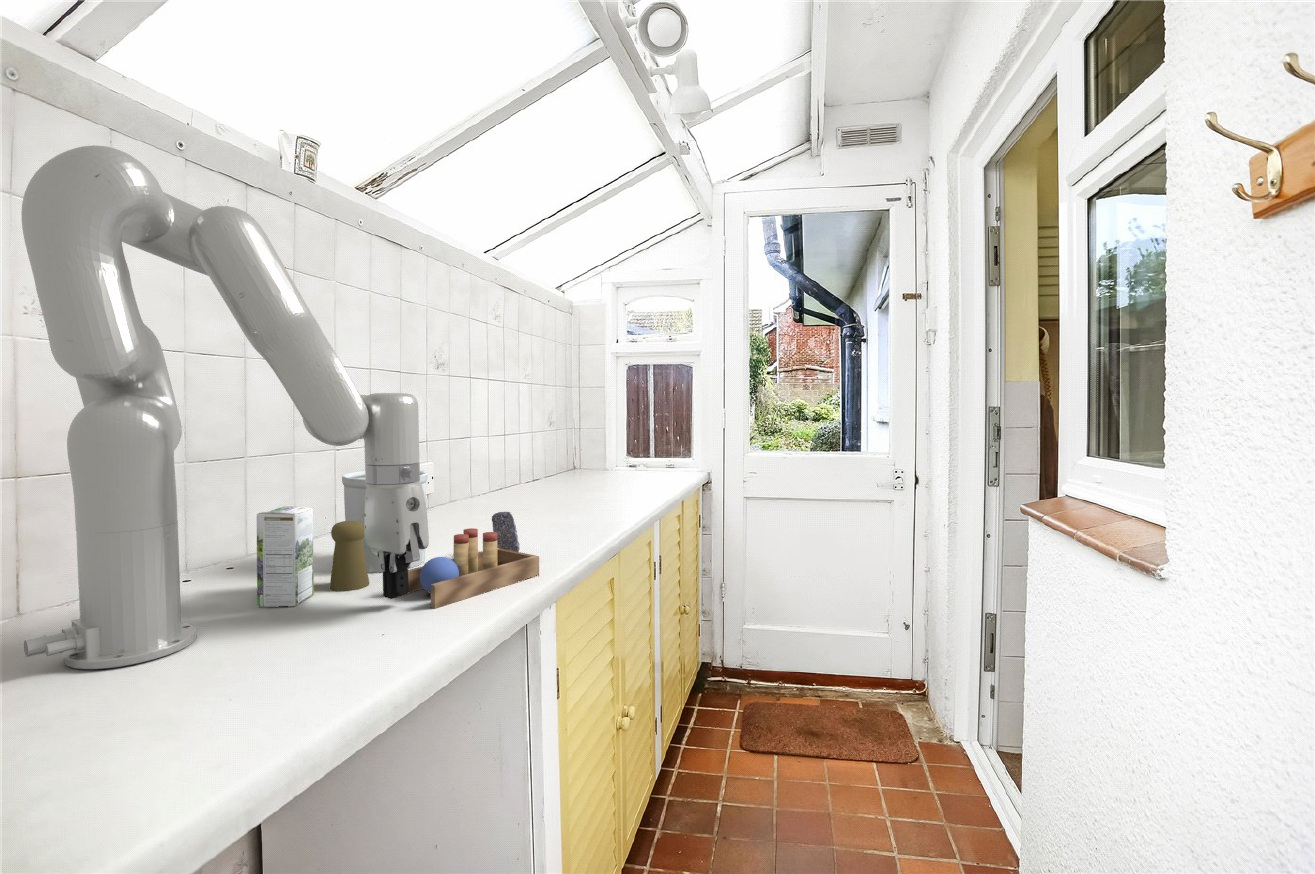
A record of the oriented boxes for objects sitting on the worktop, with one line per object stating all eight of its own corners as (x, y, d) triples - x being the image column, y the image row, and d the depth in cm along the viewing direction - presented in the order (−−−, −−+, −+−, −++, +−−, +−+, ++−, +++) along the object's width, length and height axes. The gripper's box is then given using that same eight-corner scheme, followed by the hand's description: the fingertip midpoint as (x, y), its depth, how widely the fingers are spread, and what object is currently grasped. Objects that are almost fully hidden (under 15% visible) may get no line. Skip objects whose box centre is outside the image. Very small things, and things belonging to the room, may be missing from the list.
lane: (435, 608, 93) (434, 585, 93) (391, 595, 99) (391, 574, 99) (539, 575, 111) (539, 556, 111) (497, 566, 117) (497, 547, 117)
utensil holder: (424, 571, 113) (423, 476, 112) (335, 577, 109) (333, 478, 108) (431, 552, 127) (430, 468, 126) (353, 556, 123) (351, 469, 122)
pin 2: (489, 587, 104) (489, 535, 103) (480, 584, 105) (479, 533, 105) (500, 583, 106) (500, 533, 105) (491, 581, 107) (490, 531, 107)
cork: (353, 592, 100) (351, 525, 100) (321, 590, 101) (319, 524, 101) (377, 582, 106) (376, 519, 106) (346, 579, 107) (345, 517, 107)
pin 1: (470, 582, 107) (469, 531, 106) (460, 579, 108) (460, 530, 107) (481, 578, 109) (480, 529, 108) (472, 576, 110) (471, 527, 109)
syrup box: (277, 596, 98) (274, 506, 97) (315, 595, 98) (313, 505, 98) (256, 608, 92) (253, 512, 92) (297, 607, 93) (295, 512, 92)
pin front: (459, 590, 102) (460, 537, 101) (449, 587, 103) (450, 535, 103) (471, 587, 104) (471, 535, 103) (461, 584, 105) (462, 533, 105)
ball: (469, 560, 101) (462, 597, 100) (446, 555, 104) (439, 591, 103) (439, 559, 96) (431, 598, 95) (416, 553, 99) (408, 591, 98)
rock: (522, 564, 119) (522, 513, 118) (493, 567, 117) (493, 514, 116) (514, 550, 130) (514, 503, 129) (488, 552, 128) (487, 504, 127)
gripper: (445, 476, 91) (448, 598, 92) (386, 470, 99) (389, 581, 100) (400, 482, 85) (403, 612, 86) (341, 474, 93) (344, 593, 94)
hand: (396, 595), depth 93 cm, fingers closed
